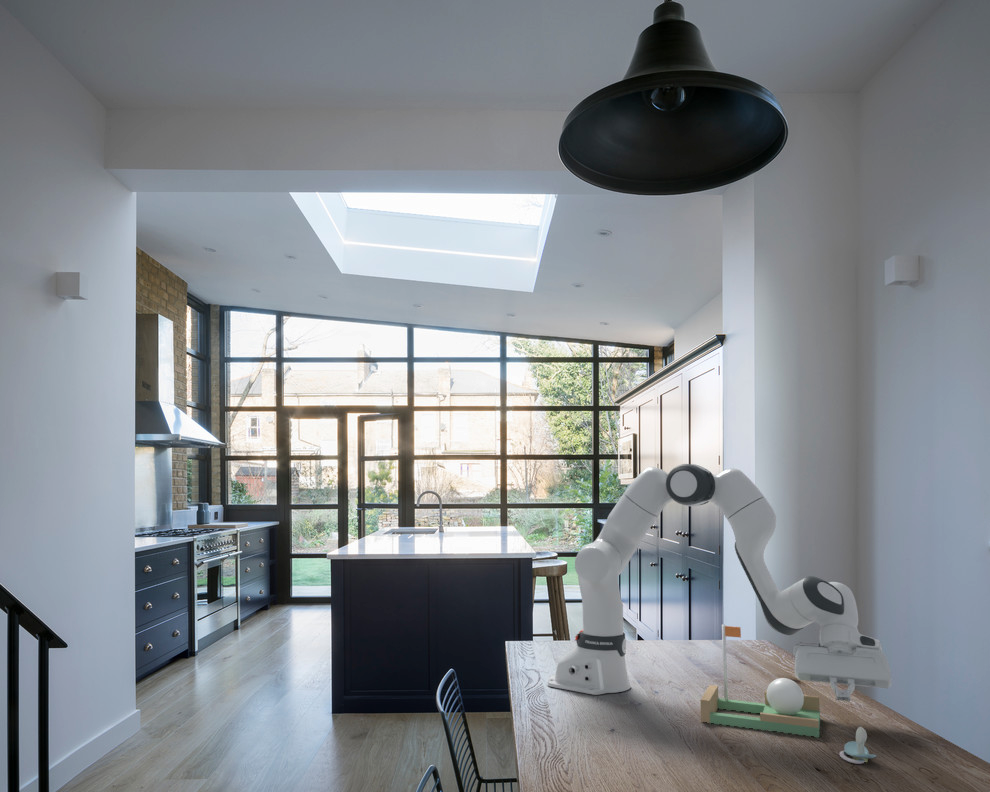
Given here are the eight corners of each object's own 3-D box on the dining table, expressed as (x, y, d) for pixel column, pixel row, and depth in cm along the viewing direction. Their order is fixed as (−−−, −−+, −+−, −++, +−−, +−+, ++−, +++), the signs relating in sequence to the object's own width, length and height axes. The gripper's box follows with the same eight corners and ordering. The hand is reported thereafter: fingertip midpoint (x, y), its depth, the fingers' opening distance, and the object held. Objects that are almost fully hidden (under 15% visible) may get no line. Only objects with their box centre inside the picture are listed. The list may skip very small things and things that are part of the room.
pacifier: (849, 767, 144) (880, 766, 143) (846, 733, 144) (877, 733, 144) (833, 753, 151) (863, 753, 151) (831, 721, 152) (860, 721, 151)
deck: (701, 722, 170) (698, 633, 172) (710, 705, 182) (707, 622, 185) (819, 737, 159) (814, 642, 162) (820, 718, 172) (815, 630, 174)
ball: (766, 717, 167) (764, 680, 168) (768, 707, 174) (767, 672, 175) (804, 722, 164) (802, 684, 164) (805, 711, 171) (803, 676, 172)
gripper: (792, 634, 177) (792, 686, 167) (887, 641, 169) (894, 696, 159) (793, 649, 181) (794, 701, 171) (887, 657, 172) (894, 712, 162)
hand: (843, 699), depth 164 cm, fingers closed
